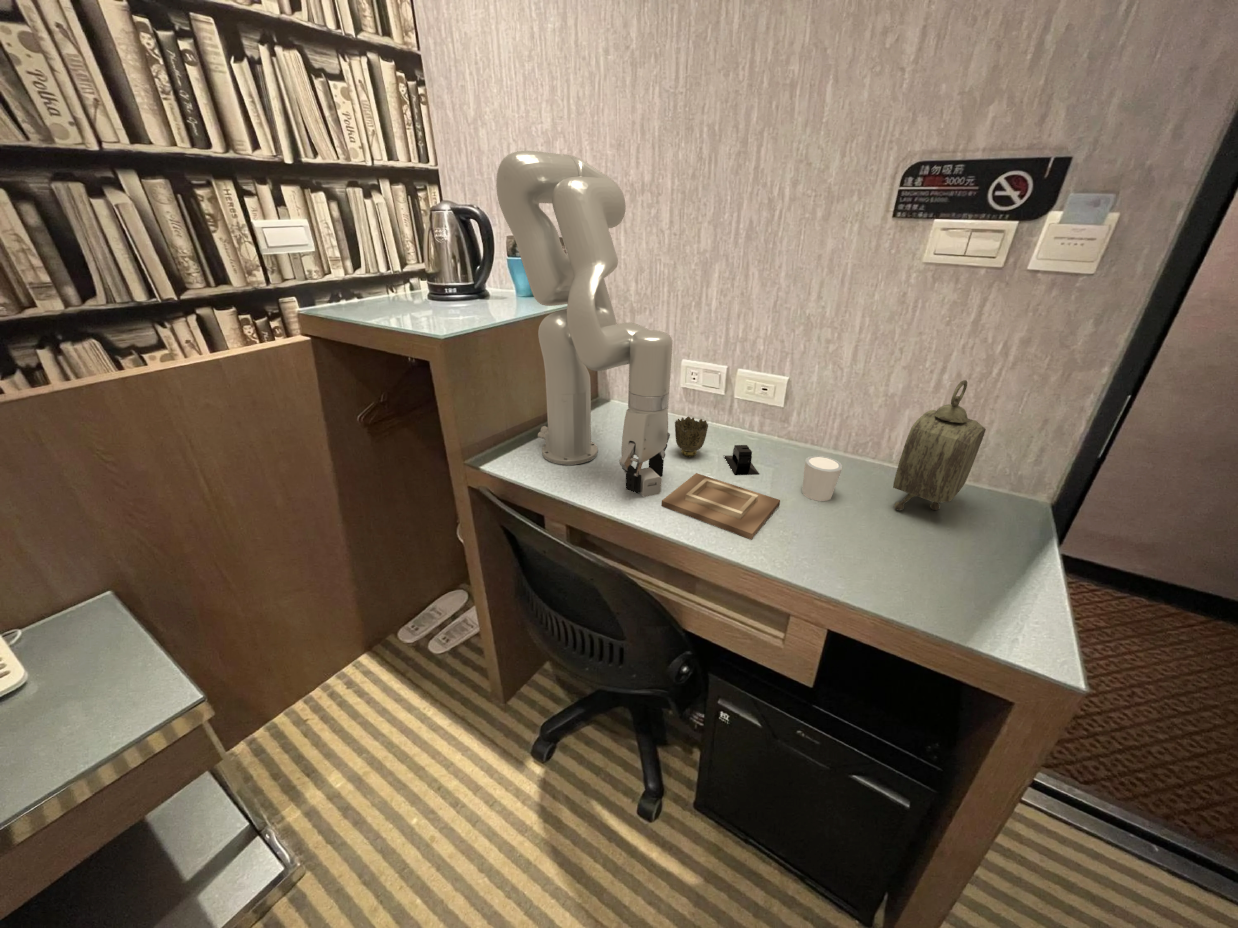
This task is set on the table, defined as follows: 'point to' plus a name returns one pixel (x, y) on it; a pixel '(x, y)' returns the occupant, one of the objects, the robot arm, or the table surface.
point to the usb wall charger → (650, 482)
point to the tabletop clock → (939, 453)
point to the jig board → (722, 505)
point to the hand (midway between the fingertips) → (644, 482)
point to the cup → (690, 435)
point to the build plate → (741, 461)
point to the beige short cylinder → (820, 477)
